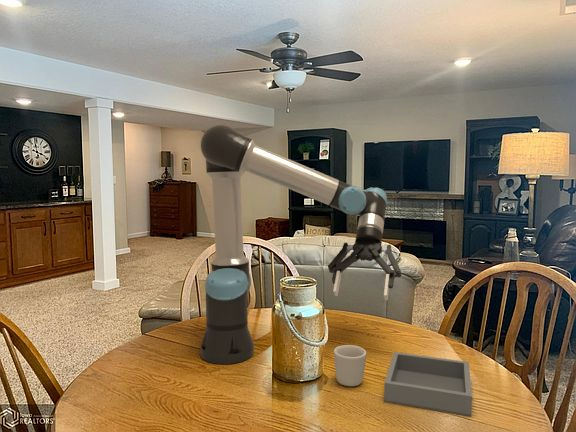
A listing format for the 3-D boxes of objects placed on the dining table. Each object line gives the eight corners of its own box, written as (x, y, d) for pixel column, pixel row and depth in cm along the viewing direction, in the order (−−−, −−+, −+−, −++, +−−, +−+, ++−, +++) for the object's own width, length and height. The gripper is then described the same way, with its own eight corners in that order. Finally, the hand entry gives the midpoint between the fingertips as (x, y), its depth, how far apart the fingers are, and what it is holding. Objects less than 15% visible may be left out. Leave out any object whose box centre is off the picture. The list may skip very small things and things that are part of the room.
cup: (331, 369, 120) (332, 340, 119) (362, 370, 120) (362, 340, 119) (334, 389, 109) (334, 357, 108) (367, 390, 109) (368, 357, 108)
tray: (383, 401, 103) (384, 382, 103) (393, 368, 121) (393, 351, 120) (471, 416, 97) (472, 396, 97) (468, 379, 114) (468, 361, 114)
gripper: (413, 241, 133) (408, 306, 121) (331, 238, 142) (318, 298, 129) (412, 226, 128) (407, 292, 115) (326, 223, 136) (312, 284, 124)
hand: (360, 295), depth 122 cm, fingers open, 13 cm apart
